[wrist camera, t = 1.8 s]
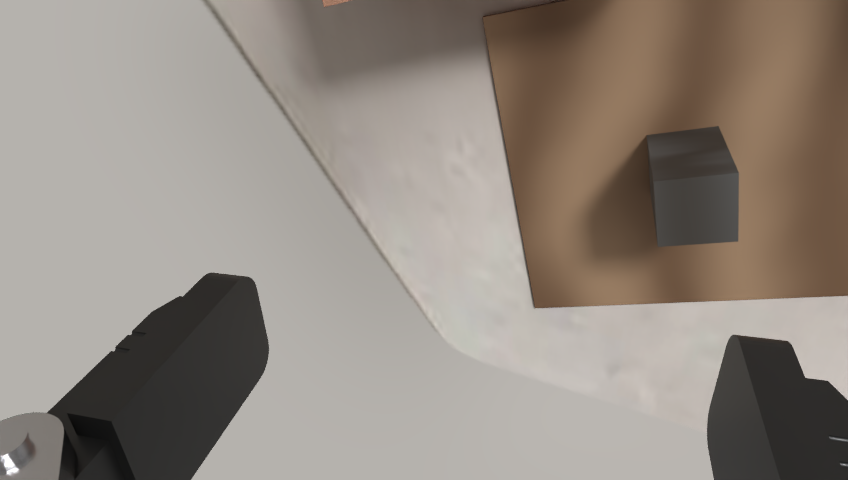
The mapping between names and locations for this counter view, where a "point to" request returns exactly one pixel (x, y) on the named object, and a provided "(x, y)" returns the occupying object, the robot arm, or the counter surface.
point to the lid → (677, 147)
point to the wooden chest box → (333, 2)
